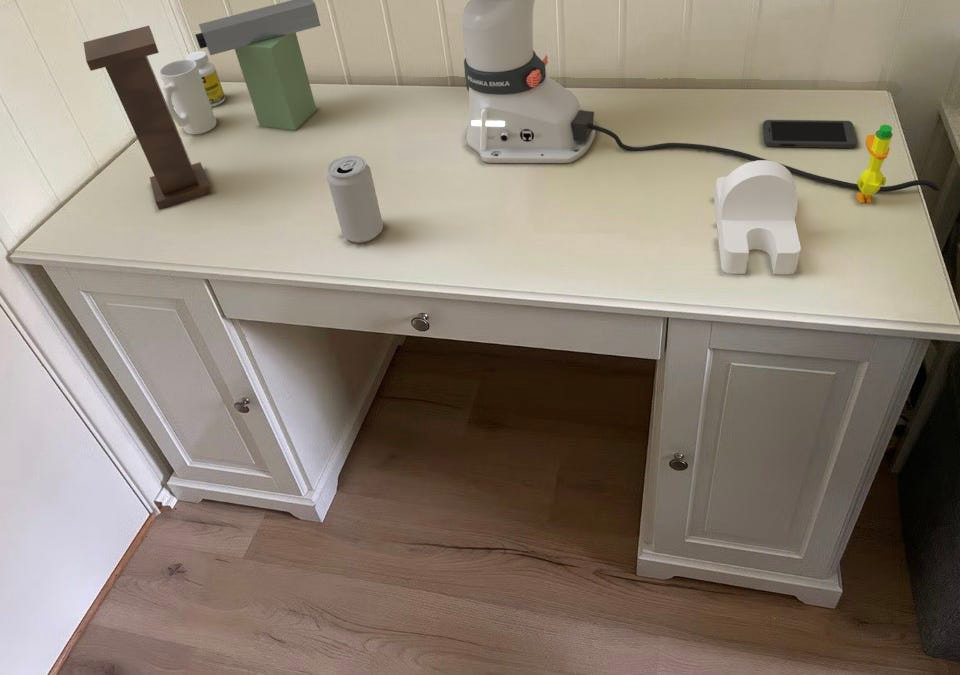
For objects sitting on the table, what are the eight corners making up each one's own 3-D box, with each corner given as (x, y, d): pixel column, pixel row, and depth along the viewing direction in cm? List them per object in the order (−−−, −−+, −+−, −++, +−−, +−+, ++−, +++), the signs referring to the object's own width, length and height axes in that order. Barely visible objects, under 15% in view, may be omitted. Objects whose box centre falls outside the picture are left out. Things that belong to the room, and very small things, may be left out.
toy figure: (844, 186, 117) (863, 112, 109) (869, 184, 116) (890, 110, 108) (857, 212, 112) (878, 137, 104) (883, 211, 112) (906, 136, 103)
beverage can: (336, 243, 120) (317, 175, 111) (353, 218, 124) (335, 152, 116) (374, 247, 118) (358, 179, 110) (390, 222, 122) (375, 154, 114)
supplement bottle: (201, 110, 157) (183, 64, 150) (197, 100, 161) (180, 53, 154) (228, 103, 158) (211, 56, 151) (223, 92, 162) (207, 46, 155)
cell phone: (857, 148, 123) (858, 144, 123) (763, 146, 126) (764, 142, 126) (851, 124, 128) (852, 120, 128) (762, 123, 131) (762, 119, 131)
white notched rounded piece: (722, 273, 106) (731, 207, 98) (713, 197, 118) (721, 133, 111) (797, 274, 104) (812, 207, 97) (780, 197, 117) (793, 132, 109)
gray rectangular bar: (314, 17, 144) (308, -5, 141) (320, 25, 141) (315, 3, 138) (199, 48, 139) (191, 26, 136) (203, 57, 136) (195, 34, 133)
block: (316, 109, 152) (294, 28, 141) (295, 130, 147) (271, 47, 136) (281, 106, 155) (257, 25, 144) (259, 126, 150) (233, 44, 138)
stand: (206, 168, 140) (148, 24, 122) (214, 192, 134) (155, 44, 116) (149, 185, 138) (83, 41, 120) (155, 210, 132) (86, 62, 114)
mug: (194, 117, 155) (171, 59, 147) (224, 118, 153) (202, 59, 145) (167, 143, 148) (142, 84, 140) (199, 145, 147) (175, 85, 138)
